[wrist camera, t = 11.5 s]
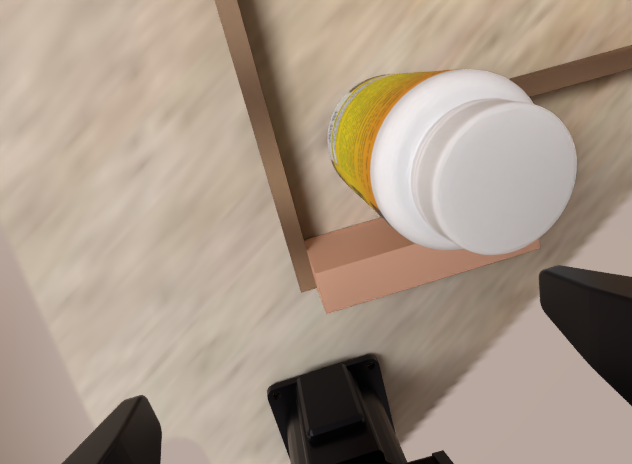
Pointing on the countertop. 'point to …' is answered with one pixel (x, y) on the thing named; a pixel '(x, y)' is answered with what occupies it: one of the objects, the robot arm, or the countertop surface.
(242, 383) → the countertop surface
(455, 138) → the supplement bottle
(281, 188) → the walnut track
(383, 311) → the countertop surface
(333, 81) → the countertop surface
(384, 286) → the stop block
